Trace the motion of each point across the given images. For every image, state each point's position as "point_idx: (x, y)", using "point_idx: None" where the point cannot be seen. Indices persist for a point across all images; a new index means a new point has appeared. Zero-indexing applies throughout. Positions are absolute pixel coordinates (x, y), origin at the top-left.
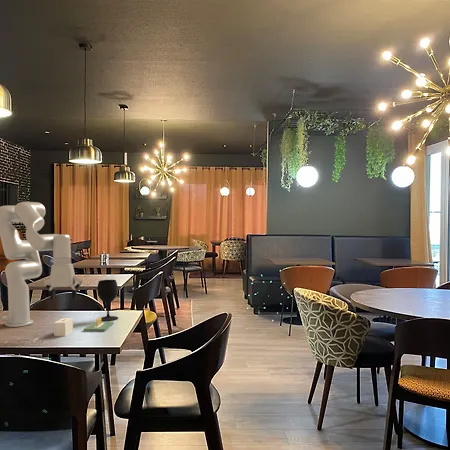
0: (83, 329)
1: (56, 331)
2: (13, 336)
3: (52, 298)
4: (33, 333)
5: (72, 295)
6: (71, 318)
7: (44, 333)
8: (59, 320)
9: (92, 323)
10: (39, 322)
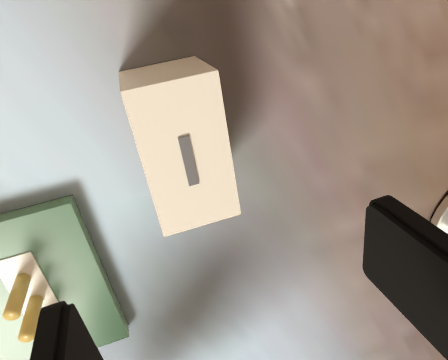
0: (70, 201)
1: (185, 63)
2: (433, 3)
3: (379, 207)
4: (351, 88)
5: (49, 351)
6: (166, 226)
7: (291, 102)
8: (220, 150)
9: (109, 313)
10: None
